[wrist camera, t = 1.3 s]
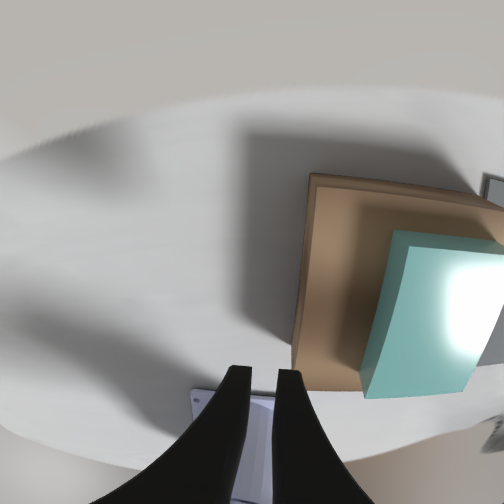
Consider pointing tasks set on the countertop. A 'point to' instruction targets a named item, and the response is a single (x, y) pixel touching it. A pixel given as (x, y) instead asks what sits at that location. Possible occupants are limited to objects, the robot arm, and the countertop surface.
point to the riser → (364, 263)
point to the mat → (500, 341)
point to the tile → (432, 314)
